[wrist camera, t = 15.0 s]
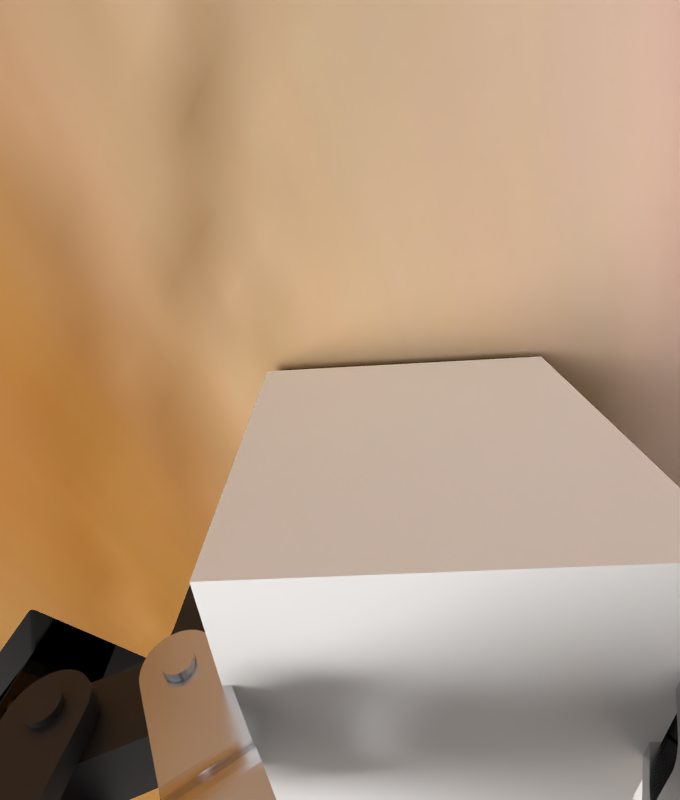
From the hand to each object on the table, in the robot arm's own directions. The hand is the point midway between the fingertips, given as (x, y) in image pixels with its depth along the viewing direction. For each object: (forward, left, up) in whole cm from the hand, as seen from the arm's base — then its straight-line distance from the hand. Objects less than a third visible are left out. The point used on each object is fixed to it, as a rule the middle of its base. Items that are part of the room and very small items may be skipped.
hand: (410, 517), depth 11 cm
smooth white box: (0, 0, -2) cm, 2 cm away
